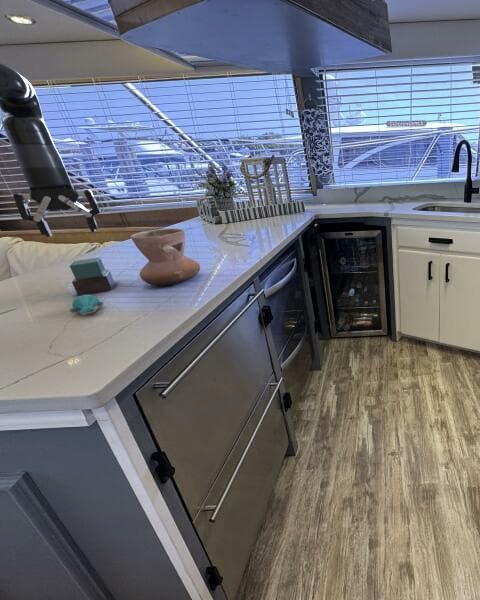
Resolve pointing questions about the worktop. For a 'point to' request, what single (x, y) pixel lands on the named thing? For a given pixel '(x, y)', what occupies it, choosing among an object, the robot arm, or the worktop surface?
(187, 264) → the ceramic jug
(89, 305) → the toy turtle
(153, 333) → the worktop surface
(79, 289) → the walnut block
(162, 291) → the worktop surface
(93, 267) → the green block
